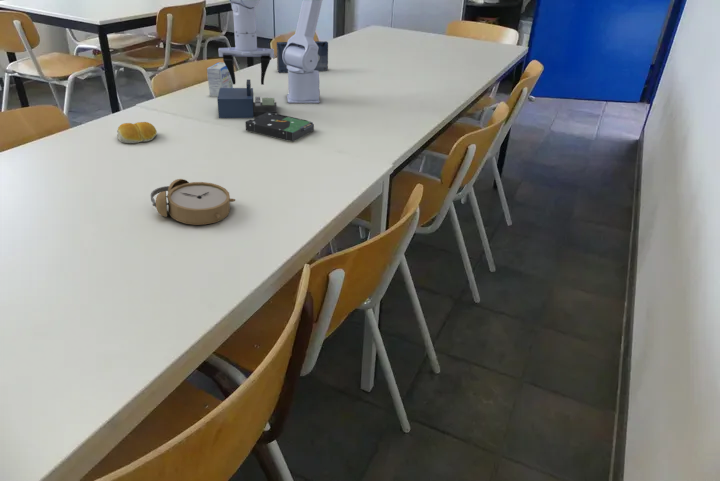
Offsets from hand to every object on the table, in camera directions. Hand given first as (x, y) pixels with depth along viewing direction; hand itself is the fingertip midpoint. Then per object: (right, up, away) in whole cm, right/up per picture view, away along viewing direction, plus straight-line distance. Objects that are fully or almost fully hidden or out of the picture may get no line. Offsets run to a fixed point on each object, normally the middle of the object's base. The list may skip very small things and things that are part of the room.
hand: (248, 83), depth 151 cm
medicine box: (-12, +2, +18) cm, 22 cm away
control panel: (0, -7, +4) cm, 8 cm away
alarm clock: (-1, -38, -47) cm, 60 cm away
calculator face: (+4, -4, +3) cm, 7 cm away
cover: (-4, -7, +4) cm, 9 cm away
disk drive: (+10, -15, -8) cm, 20 cm away
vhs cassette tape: (+10, +18, +47) cm, 51 cm away
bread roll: (-24, -18, -17) cm, 35 cm away
